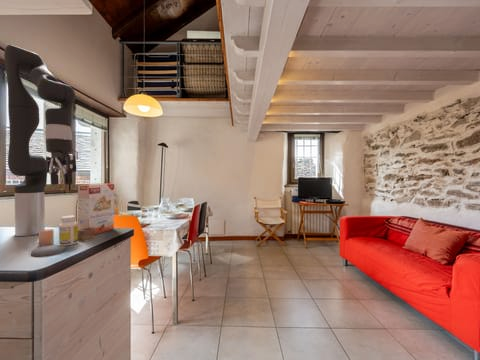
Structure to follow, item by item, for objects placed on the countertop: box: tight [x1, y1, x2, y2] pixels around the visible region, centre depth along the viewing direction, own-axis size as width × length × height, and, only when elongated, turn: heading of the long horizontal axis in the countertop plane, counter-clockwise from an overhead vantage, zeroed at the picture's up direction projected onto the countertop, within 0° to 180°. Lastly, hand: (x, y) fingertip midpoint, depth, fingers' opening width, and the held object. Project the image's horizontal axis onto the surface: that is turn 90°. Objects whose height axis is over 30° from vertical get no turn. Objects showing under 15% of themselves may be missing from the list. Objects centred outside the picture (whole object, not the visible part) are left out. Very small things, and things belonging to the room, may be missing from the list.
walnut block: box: [78, 228, 95, 243], centre depth 90 cm, size 4×4×4 cm
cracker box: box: [77, 183, 115, 236], centre depth 101 cm, size 14×6×21 cm, turn 168°
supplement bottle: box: [58, 215, 79, 247], centre depth 84 cm, size 5×5×10 cm
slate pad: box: [30, 244, 66, 258], centre depth 75 cm, size 8×8×1 cm
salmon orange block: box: [38, 228, 55, 247], centre depth 83 cm, size 4×4×5 cm
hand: (61, 184), depth 84 cm, fingers open, 8 cm apart
